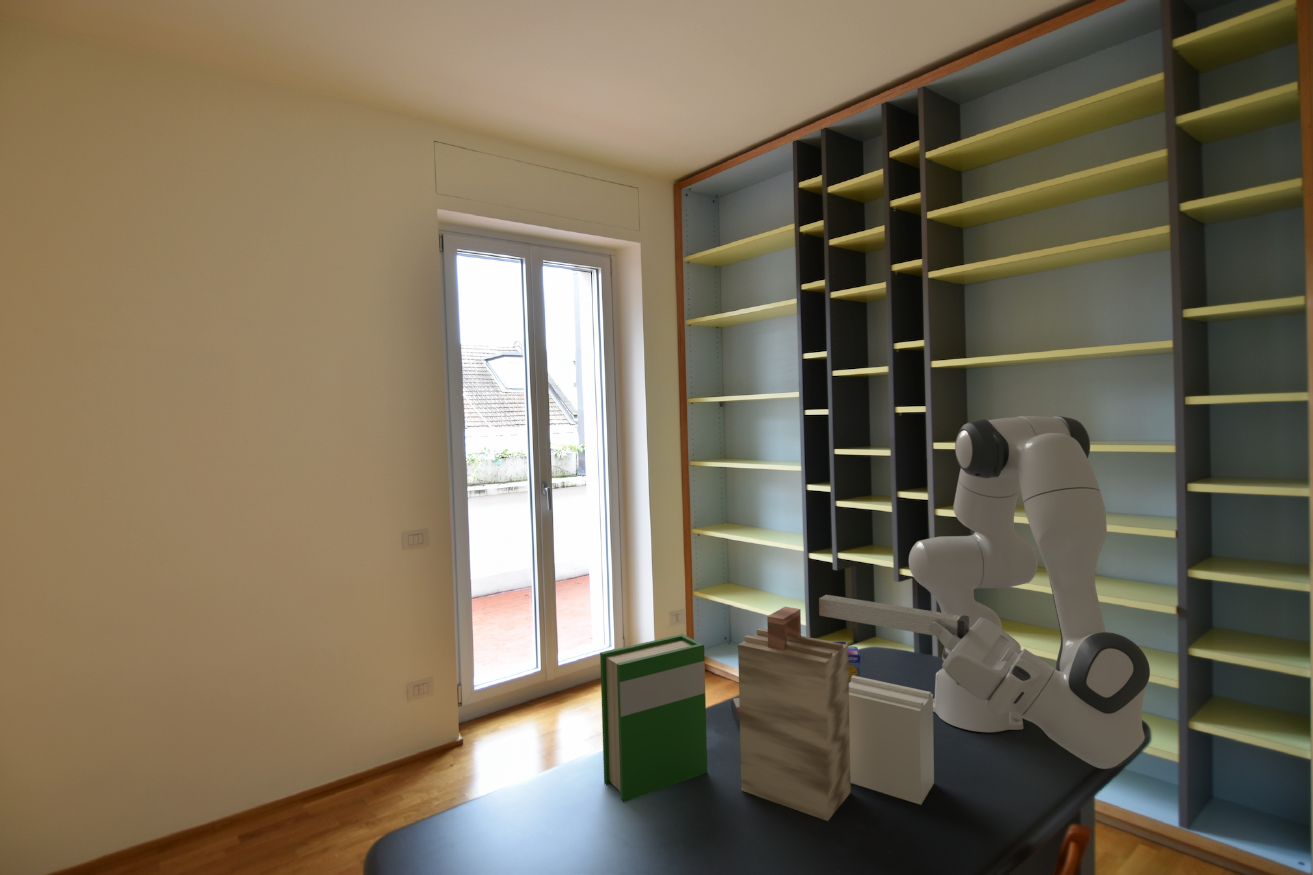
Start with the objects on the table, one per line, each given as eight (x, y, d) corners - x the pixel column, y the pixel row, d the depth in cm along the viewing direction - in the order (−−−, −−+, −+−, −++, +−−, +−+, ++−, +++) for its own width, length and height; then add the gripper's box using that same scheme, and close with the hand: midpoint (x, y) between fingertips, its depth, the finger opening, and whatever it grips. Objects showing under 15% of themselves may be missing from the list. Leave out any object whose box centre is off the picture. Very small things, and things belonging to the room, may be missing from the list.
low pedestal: (856, 760, 129) (855, 673, 128) (934, 783, 121) (932, 689, 120) (840, 779, 123) (838, 687, 122) (921, 804, 114) (919, 706, 114)
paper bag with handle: (767, 765, 128) (764, 600, 127) (850, 792, 118) (847, 613, 117) (741, 790, 120) (737, 614, 119) (827, 820, 110) (824, 629, 109)
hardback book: (623, 802, 117) (619, 664, 116) (604, 783, 124) (600, 652, 123) (707, 772, 126) (704, 644, 125) (685, 755, 133) (682, 634, 132)
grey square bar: (826, 611, 123) (826, 593, 123) (969, 635, 109) (969, 616, 109) (819, 616, 121) (818, 598, 120) (964, 641, 106) (964, 621, 106)
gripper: (1040, 642, 111) (961, 590, 117) (1018, 686, 94) (927, 622, 101) (1018, 671, 113) (942, 618, 120) (993, 719, 96) (906, 654, 103)
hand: (935, 620), depth 110 cm, fingers closed on grey square bar, 3 cm apart
